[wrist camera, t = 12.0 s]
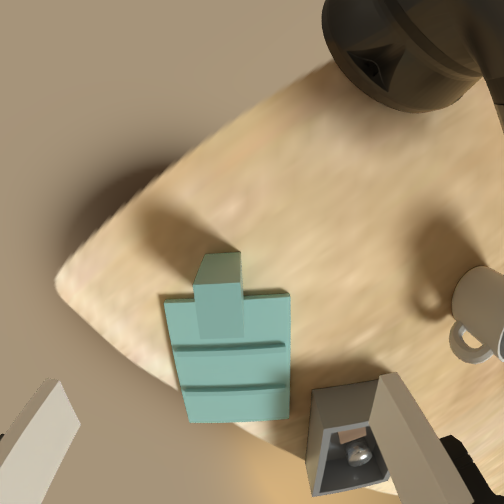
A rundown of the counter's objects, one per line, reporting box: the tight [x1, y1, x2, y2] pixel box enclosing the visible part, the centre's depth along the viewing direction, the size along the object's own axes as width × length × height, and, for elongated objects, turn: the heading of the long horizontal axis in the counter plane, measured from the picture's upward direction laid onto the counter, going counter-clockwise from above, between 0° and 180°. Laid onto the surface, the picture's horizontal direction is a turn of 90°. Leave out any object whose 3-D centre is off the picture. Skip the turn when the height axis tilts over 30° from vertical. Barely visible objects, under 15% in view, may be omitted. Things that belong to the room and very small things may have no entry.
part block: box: [337, 427, 366, 444], centre depth 29 cm, size 3×3×3 cm
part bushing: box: [343, 436, 372, 466], centre depth 31 cm, size 3×3×3 cm
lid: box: [164, 252, 291, 423], centre depth 26 cm, size 19×11×7 cm, turn 3°
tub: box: [305, 379, 390, 497], centre depth 30 cm, size 14×10×6 cm
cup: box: [449, 266, 504, 364], centre depth 24 cm, size 7×10×9 cm
